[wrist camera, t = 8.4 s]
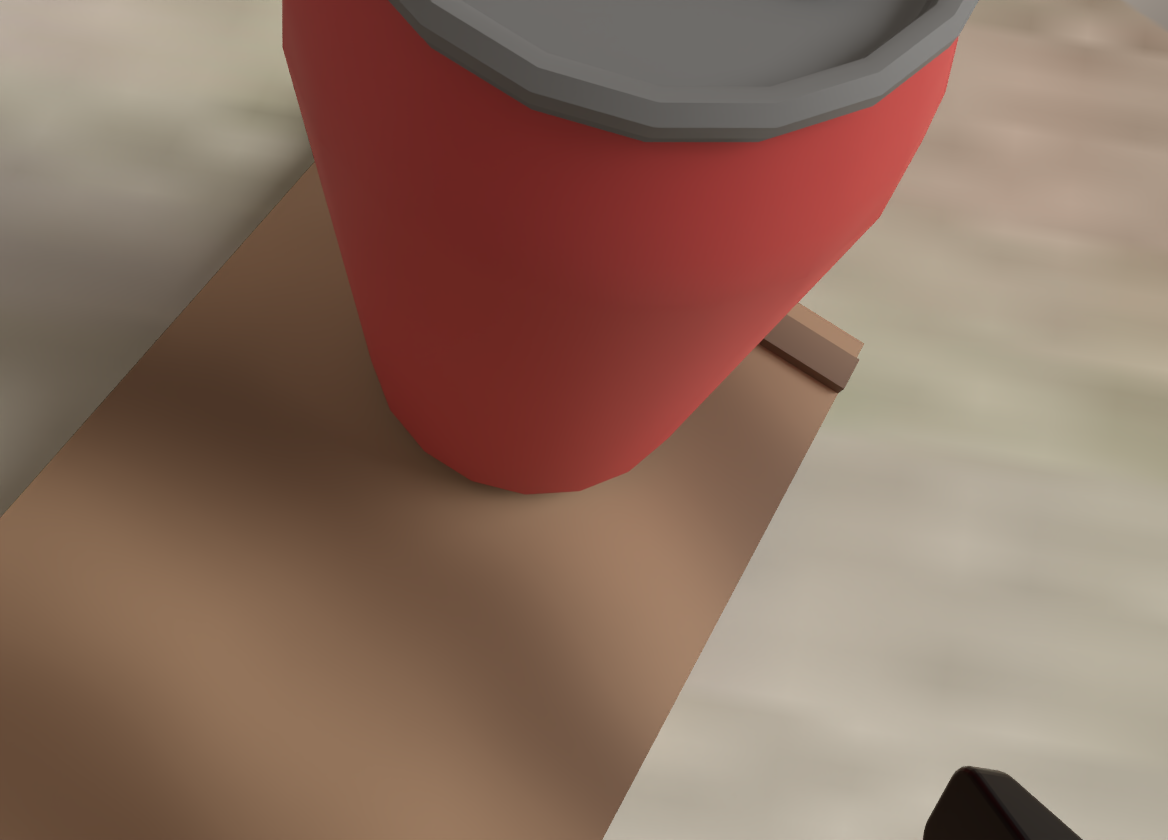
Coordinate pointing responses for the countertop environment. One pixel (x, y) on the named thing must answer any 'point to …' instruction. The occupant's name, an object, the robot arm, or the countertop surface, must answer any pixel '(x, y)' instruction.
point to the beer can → (597, 199)
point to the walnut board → (359, 586)
